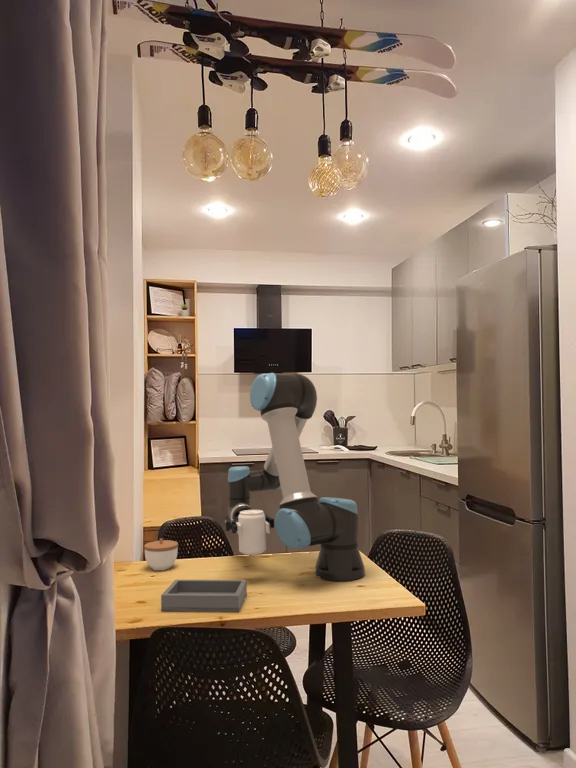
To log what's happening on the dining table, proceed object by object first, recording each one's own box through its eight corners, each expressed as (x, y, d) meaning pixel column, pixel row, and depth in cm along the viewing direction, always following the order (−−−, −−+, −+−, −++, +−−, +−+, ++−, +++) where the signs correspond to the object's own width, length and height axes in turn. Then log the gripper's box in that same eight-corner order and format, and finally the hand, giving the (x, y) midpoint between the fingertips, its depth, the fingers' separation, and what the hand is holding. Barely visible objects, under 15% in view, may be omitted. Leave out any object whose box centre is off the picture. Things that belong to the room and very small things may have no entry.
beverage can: (259, 556, 159) (258, 514, 160) (234, 554, 162) (233, 513, 162) (270, 549, 167) (269, 509, 167) (245, 548, 169) (245, 508, 170)
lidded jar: (185, 566, 181) (184, 537, 181) (161, 574, 172) (161, 544, 172) (161, 561, 186) (161, 534, 187) (137, 569, 177) (137, 540, 178)
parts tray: (246, 594, 151) (246, 579, 151) (238, 611, 138) (238, 595, 138) (175, 594, 153) (175, 579, 153) (161, 611, 140) (161, 595, 140)
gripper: (273, 525, 184) (288, 540, 162) (212, 530, 180) (219, 545, 157) (273, 503, 185) (288, 514, 162) (212, 507, 180) (218, 519, 158)
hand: (254, 529), depth 160 cm, fingers closed on beverage can, 8 cm apart
